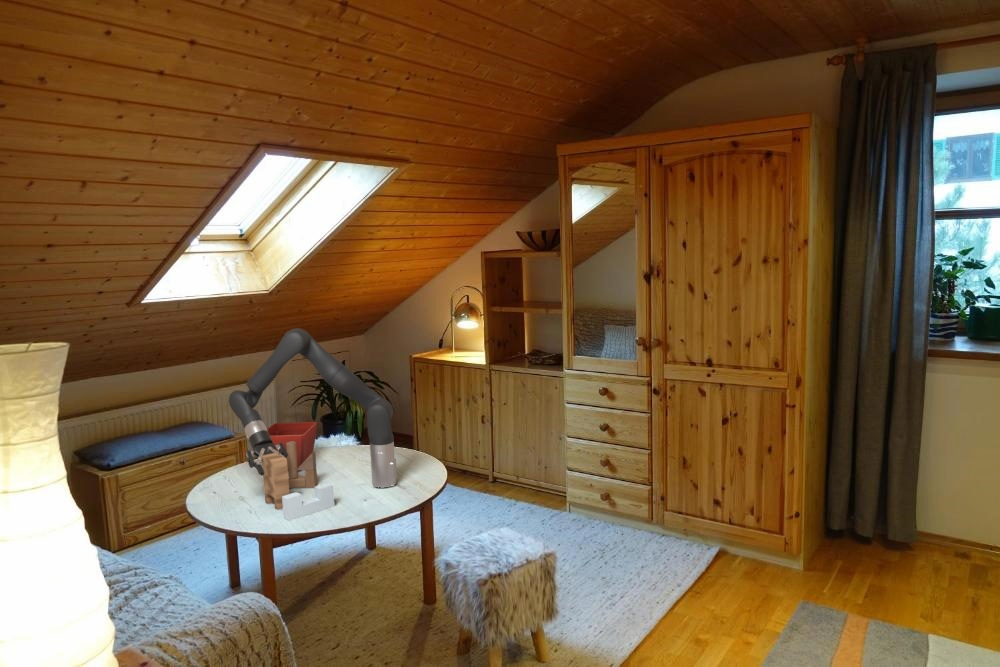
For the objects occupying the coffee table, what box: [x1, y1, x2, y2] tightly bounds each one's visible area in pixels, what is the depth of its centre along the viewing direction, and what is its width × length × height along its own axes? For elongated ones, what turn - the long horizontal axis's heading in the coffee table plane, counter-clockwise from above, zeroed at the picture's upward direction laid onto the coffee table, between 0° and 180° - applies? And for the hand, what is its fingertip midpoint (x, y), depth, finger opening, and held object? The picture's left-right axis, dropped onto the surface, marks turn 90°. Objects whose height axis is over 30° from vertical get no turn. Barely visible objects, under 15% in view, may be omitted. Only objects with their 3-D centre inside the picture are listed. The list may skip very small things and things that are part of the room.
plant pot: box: [267, 421, 318, 472], centre depth 303 cm, size 19×19×17 cm
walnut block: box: [261, 453, 291, 511], centre depth 261 cm, size 10×5×18 cm, turn 43°
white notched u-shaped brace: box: [282, 482, 336, 522], centre depth 254 cm, size 18×4×8 cm, turn 133°
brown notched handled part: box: [286, 441, 318, 489], centre depth 279 cm, size 4×11×18 cm, turn 87°
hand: (274, 471), depth 262 cm, fingers open, 8 cm apart
